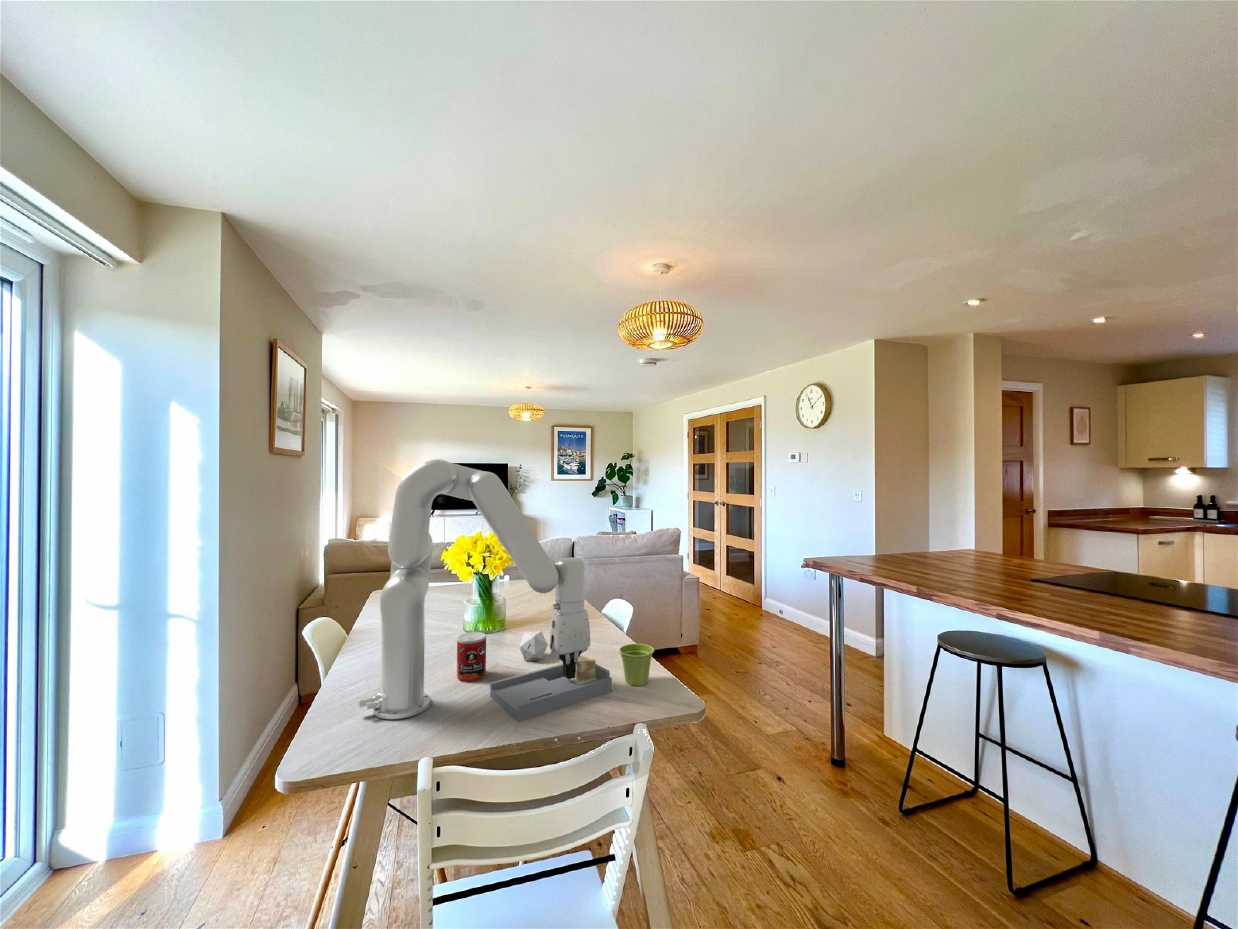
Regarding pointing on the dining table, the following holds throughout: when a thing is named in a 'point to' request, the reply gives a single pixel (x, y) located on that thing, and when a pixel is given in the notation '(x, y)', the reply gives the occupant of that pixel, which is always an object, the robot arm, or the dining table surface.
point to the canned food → (471, 656)
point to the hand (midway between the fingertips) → (569, 677)
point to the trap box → (546, 691)
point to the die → (533, 646)
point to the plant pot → (636, 663)
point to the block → (585, 668)
